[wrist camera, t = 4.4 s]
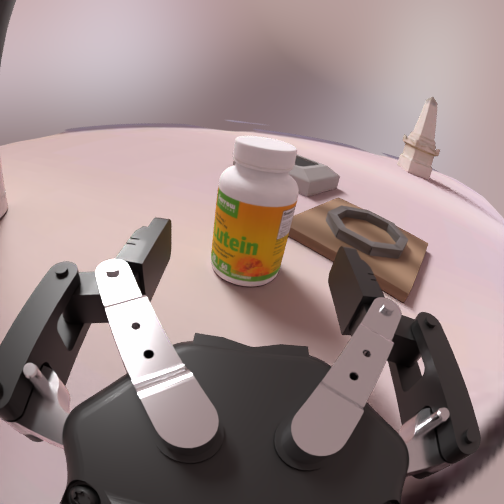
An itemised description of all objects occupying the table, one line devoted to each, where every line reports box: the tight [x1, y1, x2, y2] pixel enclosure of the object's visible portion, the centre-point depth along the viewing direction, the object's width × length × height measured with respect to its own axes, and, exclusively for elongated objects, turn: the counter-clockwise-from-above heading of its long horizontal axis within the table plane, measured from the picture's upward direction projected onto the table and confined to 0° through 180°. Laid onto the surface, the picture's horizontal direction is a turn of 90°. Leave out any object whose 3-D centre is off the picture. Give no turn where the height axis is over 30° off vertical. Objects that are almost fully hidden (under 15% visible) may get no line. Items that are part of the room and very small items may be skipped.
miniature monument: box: [397, 97, 440, 180], centre depth 74 cm, size 10×10×30 cm
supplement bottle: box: [211, 136, 299, 286], centre depth 19 cm, size 5×5×10 cm
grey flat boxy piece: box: [233, 154, 340, 197], centre depth 43 cm, size 10×4×15 cm
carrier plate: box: [288, 198, 428, 303], centre depth 28 cm, size 14×14×2 cm
